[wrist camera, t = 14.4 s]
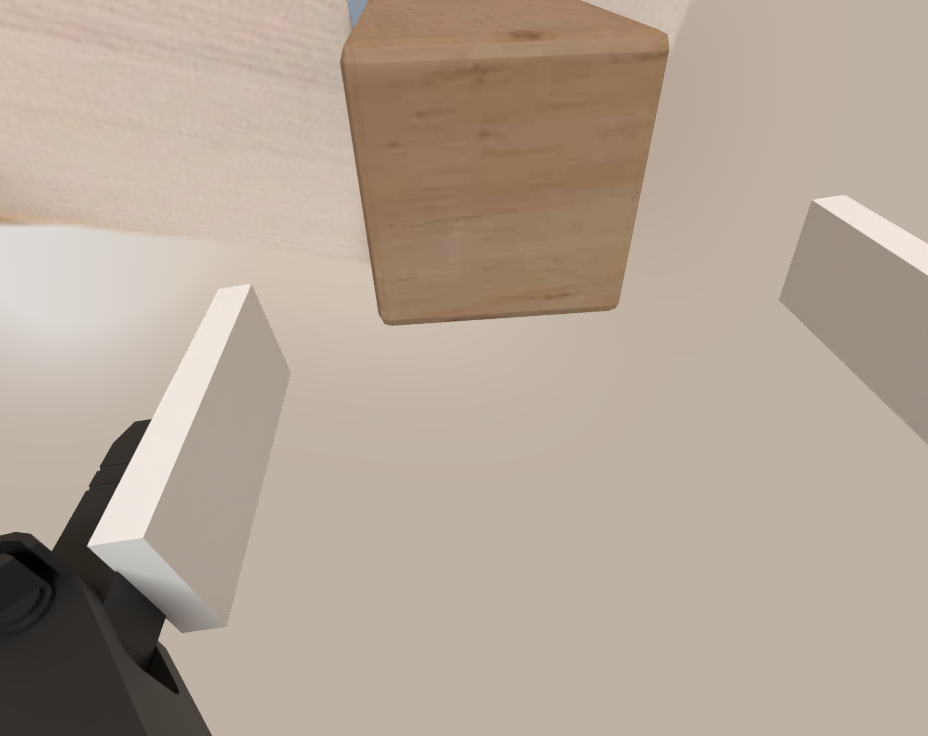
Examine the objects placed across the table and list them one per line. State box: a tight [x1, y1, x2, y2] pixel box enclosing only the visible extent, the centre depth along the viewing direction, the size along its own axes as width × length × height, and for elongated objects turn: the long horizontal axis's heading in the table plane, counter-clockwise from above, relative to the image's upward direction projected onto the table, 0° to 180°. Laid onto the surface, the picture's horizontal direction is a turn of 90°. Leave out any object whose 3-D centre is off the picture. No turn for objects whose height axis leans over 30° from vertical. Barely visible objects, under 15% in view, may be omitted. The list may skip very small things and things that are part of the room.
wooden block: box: [340, 0, 669, 326], centre depth 26 cm, size 10×10×20 cm
